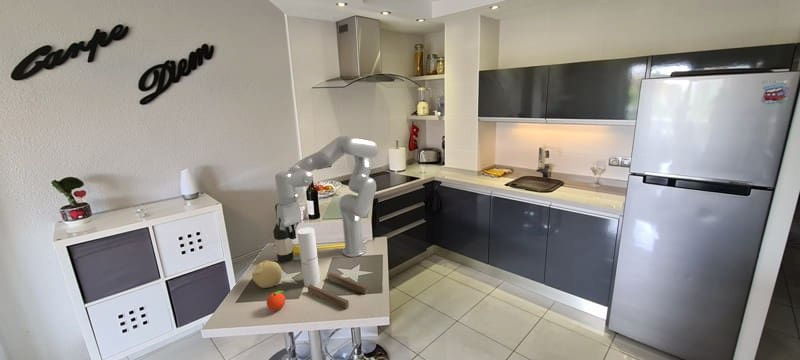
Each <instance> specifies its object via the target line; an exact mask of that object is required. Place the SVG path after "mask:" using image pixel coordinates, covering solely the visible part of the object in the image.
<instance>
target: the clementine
mask: <svg viewBox="0 0 800 360" xmlns="http://www.w3.org/2000/svg"><path fill="white" fill-rule="evenodd" d="M283 293H284V290H278V291H275V292H272V293H271V294H269V296H268V297H267V299H266V305H267V308H268V309H269V310H271V311H273V312H275V311H279V310H281V309H282V308H283V307H284V306H285V303H286V297H285V295H284V294H283Z"/></svg>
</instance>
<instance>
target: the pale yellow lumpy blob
mask: <svg viewBox="0 0 800 360" xmlns="http://www.w3.org/2000/svg"><path fill="white" fill-rule="evenodd" d="M251 277H252V280H253V282H254V283H255V284H256V285H257V286H258V287H259V288H262V289H263V288H265V289H266V288H271V287H274V286H276V285H277V284H279V283H280V281H281V280H282V277H283V271H282V267H281V265H279V263H277V262H276V261H270V259H269V260H268V259H266V260H264V261H261V262H259V263H258V264H257V265H256V267H255V268H254V270H253V271H252V274H251Z"/></svg>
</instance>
